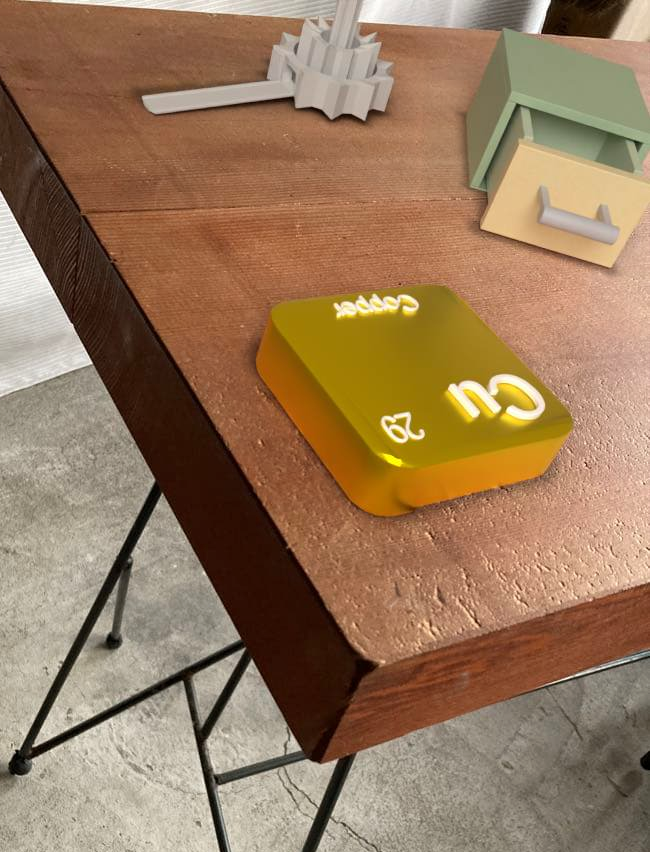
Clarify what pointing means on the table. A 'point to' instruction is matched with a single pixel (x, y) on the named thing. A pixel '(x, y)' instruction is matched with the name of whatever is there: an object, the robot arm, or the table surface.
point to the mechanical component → (307, 72)
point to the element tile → (409, 396)
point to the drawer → (565, 186)
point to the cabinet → (551, 95)
